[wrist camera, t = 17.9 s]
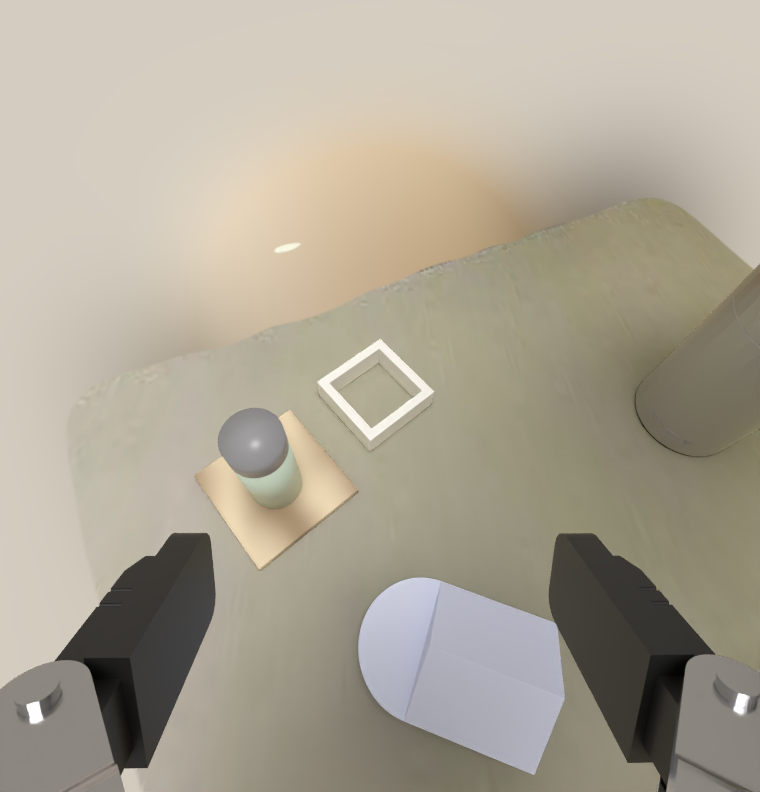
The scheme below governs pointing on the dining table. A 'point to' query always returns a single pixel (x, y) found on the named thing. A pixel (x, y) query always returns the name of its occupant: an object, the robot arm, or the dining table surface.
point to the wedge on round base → (464, 668)
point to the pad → (280, 527)
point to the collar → (355, 369)
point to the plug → (261, 457)
